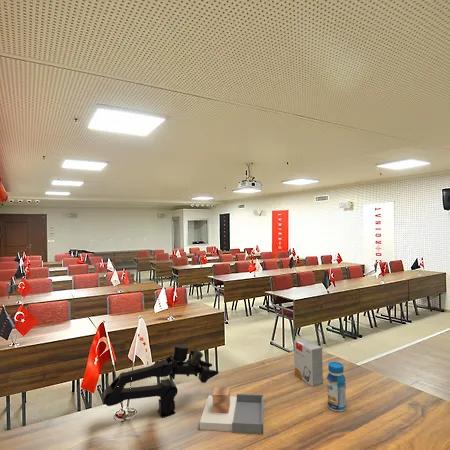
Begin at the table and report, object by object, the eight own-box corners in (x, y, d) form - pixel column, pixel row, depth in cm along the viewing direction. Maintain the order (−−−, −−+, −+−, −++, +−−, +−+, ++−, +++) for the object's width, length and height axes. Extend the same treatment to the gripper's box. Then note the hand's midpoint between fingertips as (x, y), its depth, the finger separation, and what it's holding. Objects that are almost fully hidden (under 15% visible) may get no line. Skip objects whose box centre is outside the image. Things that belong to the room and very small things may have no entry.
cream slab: (199, 429, 137) (199, 422, 137) (208, 401, 159) (208, 395, 159) (232, 431, 135) (232, 424, 135) (237, 402, 157) (236, 396, 157)
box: (232, 432, 135) (232, 422, 135) (237, 401, 158) (237, 393, 158) (263, 434, 133) (263, 424, 133) (263, 402, 156) (263, 394, 156)
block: (212, 412, 144) (212, 394, 144) (215, 404, 151) (214, 386, 151) (228, 413, 143) (228, 395, 143) (230, 404, 150) (229, 387, 150)
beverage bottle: (348, 413, 146) (346, 368, 147) (328, 411, 148) (327, 367, 148) (344, 402, 155) (343, 361, 155) (326, 401, 156) (325, 360, 156)
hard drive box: (294, 375, 185) (293, 340, 185) (304, 372, 188) (304, 338, 188) (312, 387, 171) (311, 349, 171) (323, 383, 174) (322, 346, 174)
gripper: (192, 358, 146) (224, 359, 151) (182, 344, 163) (211, 345, 169) (188, 383, 145) (220, 383, 150) (179, 366, 162) (208, 367, 168)
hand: (215, 368), depth 159 cm, fingers open, 9 cm apart
